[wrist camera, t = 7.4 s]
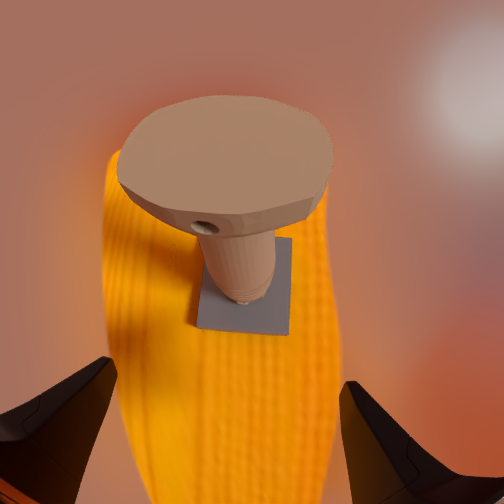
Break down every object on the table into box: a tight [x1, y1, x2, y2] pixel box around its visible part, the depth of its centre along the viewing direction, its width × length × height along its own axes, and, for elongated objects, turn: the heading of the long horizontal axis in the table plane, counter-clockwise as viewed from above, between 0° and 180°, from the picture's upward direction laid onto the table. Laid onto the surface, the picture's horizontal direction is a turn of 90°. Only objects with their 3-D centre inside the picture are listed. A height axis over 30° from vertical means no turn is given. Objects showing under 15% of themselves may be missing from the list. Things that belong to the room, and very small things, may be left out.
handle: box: [117, 95, 333, 305], centre depth 14 cm, size 5×6×15 cm
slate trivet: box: [196, 237, 292, 336], centre depth 22 cm, size 8×7×1 cm
